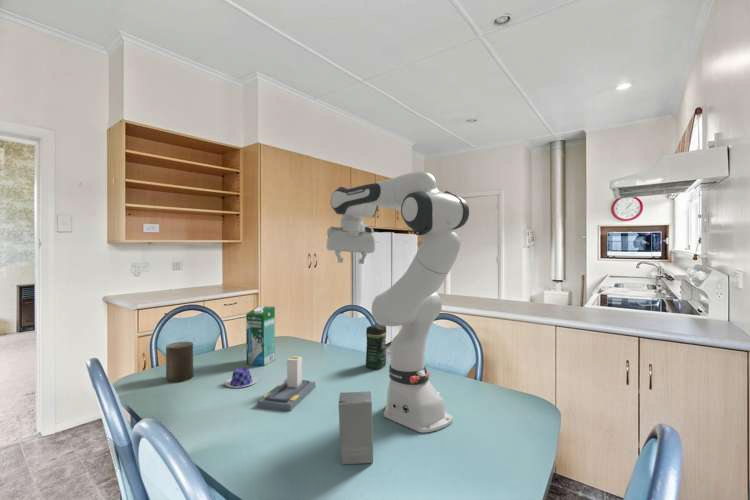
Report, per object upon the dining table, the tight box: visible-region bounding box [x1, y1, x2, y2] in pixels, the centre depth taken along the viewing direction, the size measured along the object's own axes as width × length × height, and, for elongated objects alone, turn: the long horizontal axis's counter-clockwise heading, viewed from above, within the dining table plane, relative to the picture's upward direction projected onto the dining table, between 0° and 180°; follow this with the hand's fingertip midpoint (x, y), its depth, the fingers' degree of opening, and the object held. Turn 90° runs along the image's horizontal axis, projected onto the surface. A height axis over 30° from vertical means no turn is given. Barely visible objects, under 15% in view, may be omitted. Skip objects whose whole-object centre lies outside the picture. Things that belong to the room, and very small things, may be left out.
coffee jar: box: [365, 322, 387, 370], centre depth 159 cm, size 10×8×19 cm
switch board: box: [256, 378, 316, 412], centre depth 127 cm, size 20×12×3 cm, turn 166°
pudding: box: [224, 367, 258, 389], centre depth 140 cm, size 12×12×5 cm
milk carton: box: [245, 305, 276, 367], centre depth 165 cm, size 9×9×25 cm
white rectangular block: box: [286, 355, 303, 388], centre depth 132 cm, size 4×4×10 cm
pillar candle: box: [165, 341, 194, 383], centre depth 145 cm, size 10×10×15 cm
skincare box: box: [338, 390, 374, 466], centre depth 90 cm, size 8×7×16 cm
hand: (351, 263), depth 142 cm, fingers open, 8 cm apart
